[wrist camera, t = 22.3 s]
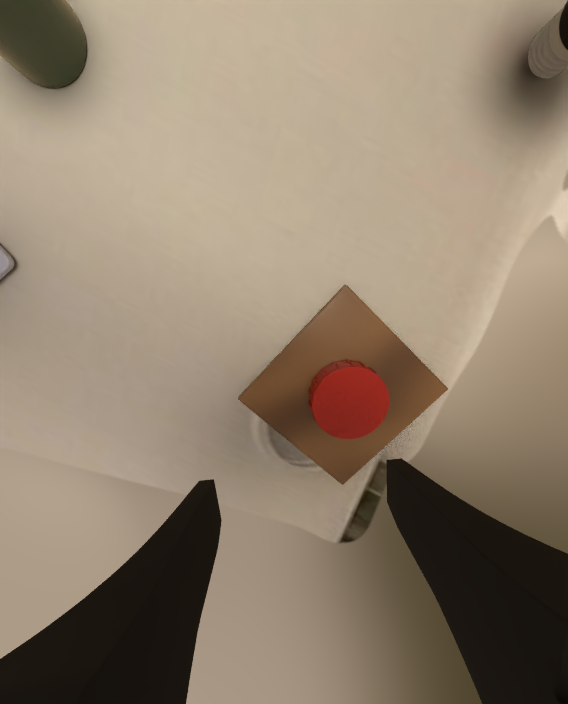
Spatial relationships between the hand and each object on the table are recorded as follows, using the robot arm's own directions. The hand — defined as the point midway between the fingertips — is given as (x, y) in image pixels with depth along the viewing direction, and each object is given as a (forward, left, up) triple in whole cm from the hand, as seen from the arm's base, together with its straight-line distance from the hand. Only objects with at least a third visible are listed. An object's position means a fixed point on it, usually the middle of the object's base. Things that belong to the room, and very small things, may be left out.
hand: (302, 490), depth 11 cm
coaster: (+2, +4, -9) cm, 10 cm away
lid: (+2, +4, -8) cm, 9 cm away
